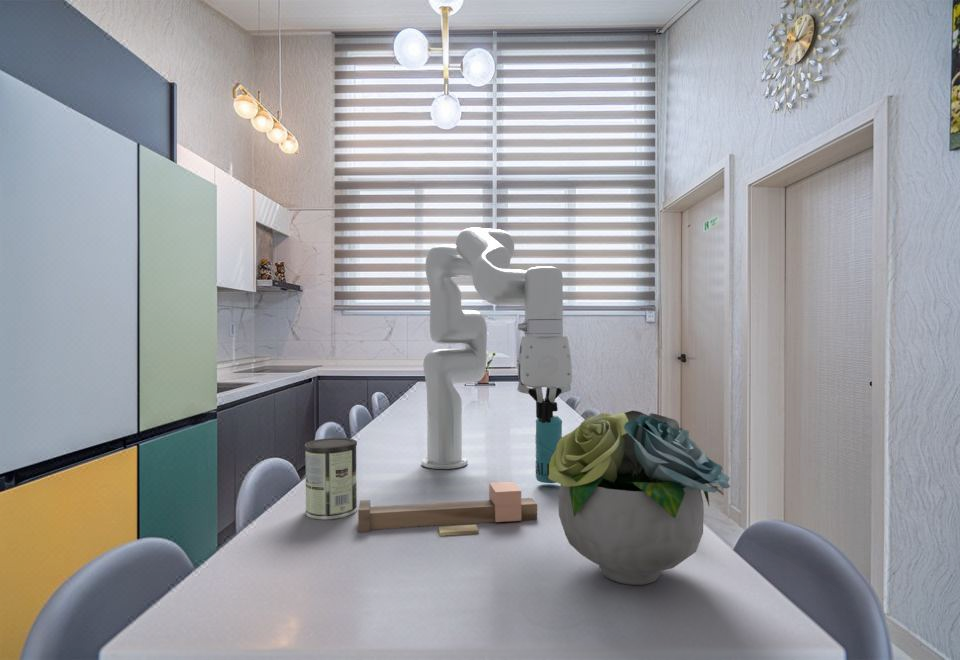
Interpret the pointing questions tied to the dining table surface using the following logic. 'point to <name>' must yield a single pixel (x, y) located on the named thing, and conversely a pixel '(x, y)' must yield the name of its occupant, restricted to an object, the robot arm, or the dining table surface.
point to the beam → (436, 515)
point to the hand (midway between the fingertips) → (544, 421)
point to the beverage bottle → (546, 445)
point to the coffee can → (331, 478)
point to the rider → (506, 501)
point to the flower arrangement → (633, 493)
